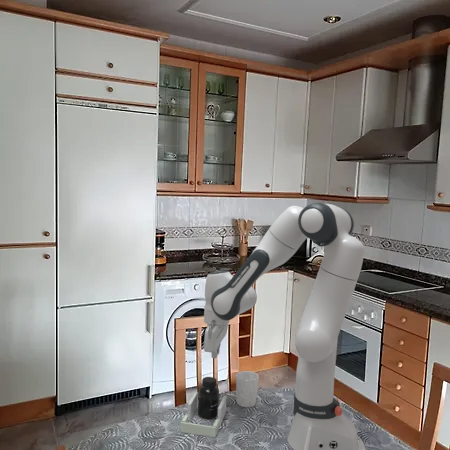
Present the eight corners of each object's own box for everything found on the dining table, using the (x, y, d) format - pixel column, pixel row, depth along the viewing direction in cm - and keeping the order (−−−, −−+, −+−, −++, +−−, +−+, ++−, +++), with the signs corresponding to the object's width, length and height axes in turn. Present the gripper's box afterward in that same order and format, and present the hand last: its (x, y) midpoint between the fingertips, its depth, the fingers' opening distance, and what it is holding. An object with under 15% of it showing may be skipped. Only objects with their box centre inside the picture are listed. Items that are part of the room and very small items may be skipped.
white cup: (254, 410, 148) (255, 381, 147) (232, 406, 150) (233, 378, 150) (259, 399, 156) (260, 372, 155) (238, 396, 158) (239, 369, 157)
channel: (225, 412, 146) (226, 396, 145) (220, 425, 138) (220, 408, 137) (194, 407, 148) (195, 392, 148) (187, 420, 140) (187, 404, 140)
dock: (218, 428, 136) (219, 419, 135) (215, 437, 131) (215, 427, 131) (185, 423, 138) (185, 414, 138) (180, 431, 133) (180, 422, 133)
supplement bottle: (215, 421, 140) (216, 385, 139) (195, 418, 141) (196, 382, 141) (220, 410, 147) (221, 376, 146) (200, 408, 148) (201, 374, 147)
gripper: (218, 326, 139) (217, 368, 140) (231, 310, 159) (230, 346, 160) (199, 324, 140) (198, 366, 141) (214, 308, 160) (213, 345, 161)
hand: (215, 355), depth 151 cm, fingers closed
